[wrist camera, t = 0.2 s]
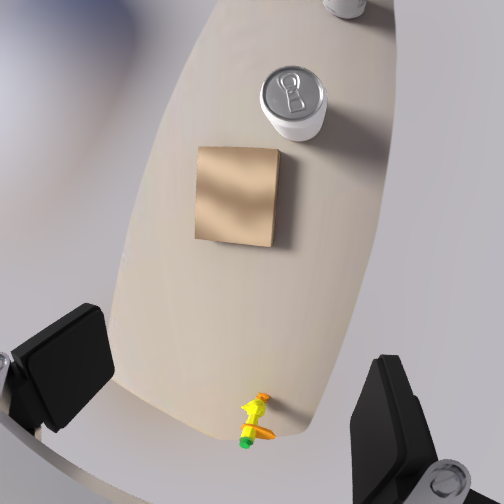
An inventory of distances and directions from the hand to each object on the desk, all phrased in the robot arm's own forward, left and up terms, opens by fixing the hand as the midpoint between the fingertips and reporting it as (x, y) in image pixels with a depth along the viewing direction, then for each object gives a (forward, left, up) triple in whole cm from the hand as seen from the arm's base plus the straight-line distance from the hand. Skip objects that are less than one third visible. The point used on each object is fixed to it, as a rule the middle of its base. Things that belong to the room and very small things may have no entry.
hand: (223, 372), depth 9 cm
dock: (-3, -7, -30) cm, 31 cm away
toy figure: (+31, -1, -31) cm, 44 cm away
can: (-14, 0, -31) cm, 34 cm away
